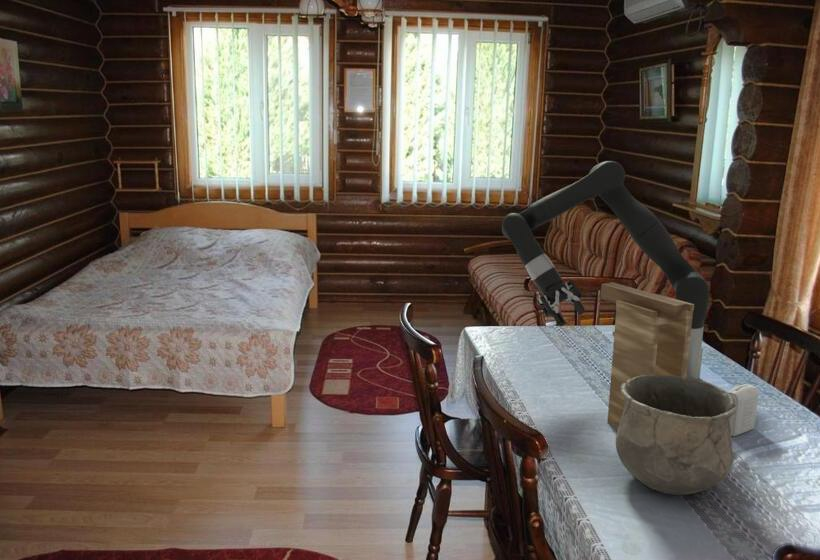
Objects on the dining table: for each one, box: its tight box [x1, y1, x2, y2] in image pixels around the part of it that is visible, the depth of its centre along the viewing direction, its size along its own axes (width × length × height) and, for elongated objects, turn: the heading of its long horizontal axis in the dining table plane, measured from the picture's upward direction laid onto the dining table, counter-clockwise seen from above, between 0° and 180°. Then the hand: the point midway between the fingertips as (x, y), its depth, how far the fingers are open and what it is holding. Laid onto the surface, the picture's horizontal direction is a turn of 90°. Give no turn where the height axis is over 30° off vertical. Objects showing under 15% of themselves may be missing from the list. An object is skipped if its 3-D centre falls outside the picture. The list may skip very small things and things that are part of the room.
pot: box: [615, 375, 737, 496], centre depth 150 cm, size 25×24×21 cm
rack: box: [607, 293, 694, 429], centre depth 177 cm, size 14×12×34 cm
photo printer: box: [727, 383, 760, 437], centre depth 177 cm, size 10×4×12 cm, turn 123°
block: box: [600, 281, 688, 322], centre depth 172 cm, size 4×24×4 cm, turn 29°
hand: (573, 319), depth 201 cm, fingers open, 8 cm apart
